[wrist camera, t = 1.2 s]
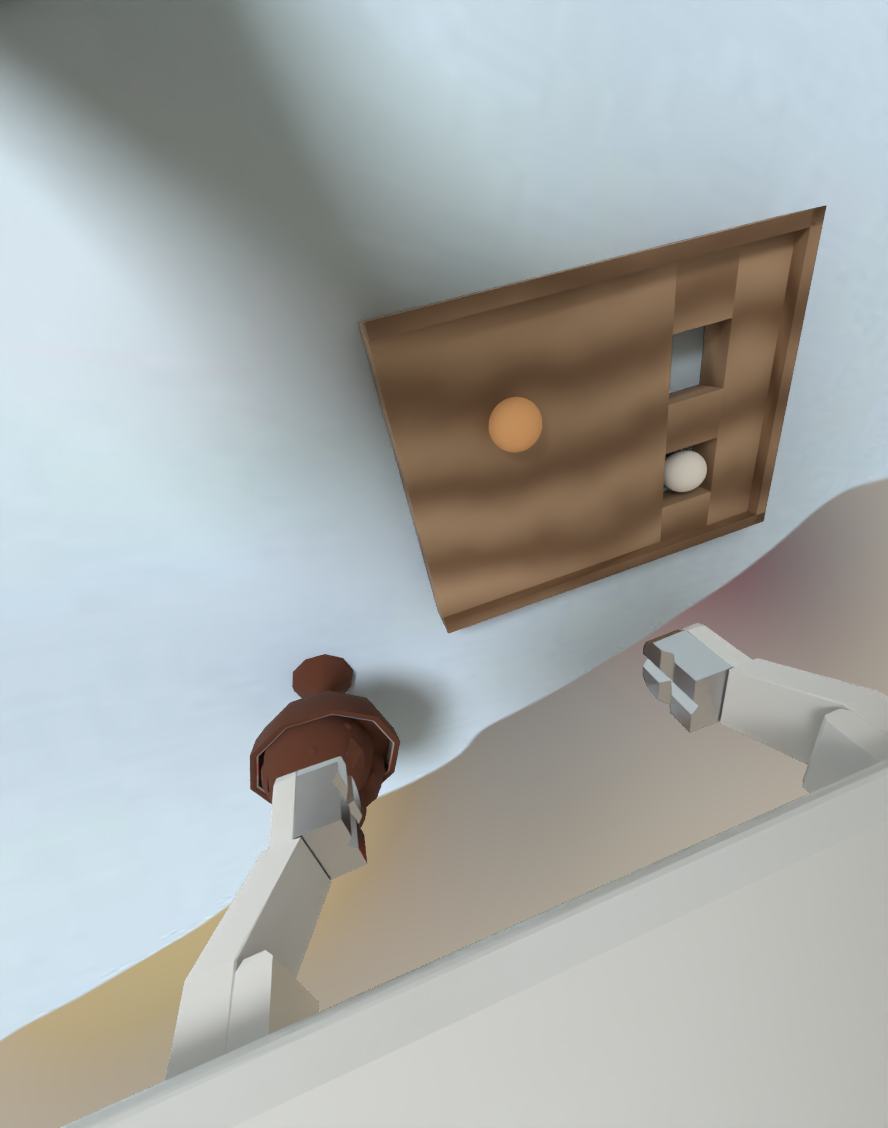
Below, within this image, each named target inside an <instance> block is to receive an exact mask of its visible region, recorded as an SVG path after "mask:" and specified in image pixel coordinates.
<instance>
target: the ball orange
mask: <svg viewBox="0 0 888 1128" xmlns="http://www.w3.org/2000/svg"><path fill="white" fill-rule="evenodd" d="M541 431H542V416H541V413H540V411H539V409H538V408H537V406H536V405H535V404H534V403H533V402H531V401H530V400H528V399H526V398H523V397H511V398H508V399H505V400H503V401H502V402H500V403H499V404H498V405H497V406H496V407H495V408H494V410H493V411H492V413H491V416H490V419H489V433H490V436H491V439H492V440H493V442H494V443H495V444H496V445H497V446H498V447H499V448H500V449H502V450H504V451H507V452H513V453H516V452H522V451H524V450H527V449H528V448H530V447H531V446H532V445H533V444H534V443H535V442H536V441H537V440H538V438H539V436H540V434H541Z"/></svg>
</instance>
